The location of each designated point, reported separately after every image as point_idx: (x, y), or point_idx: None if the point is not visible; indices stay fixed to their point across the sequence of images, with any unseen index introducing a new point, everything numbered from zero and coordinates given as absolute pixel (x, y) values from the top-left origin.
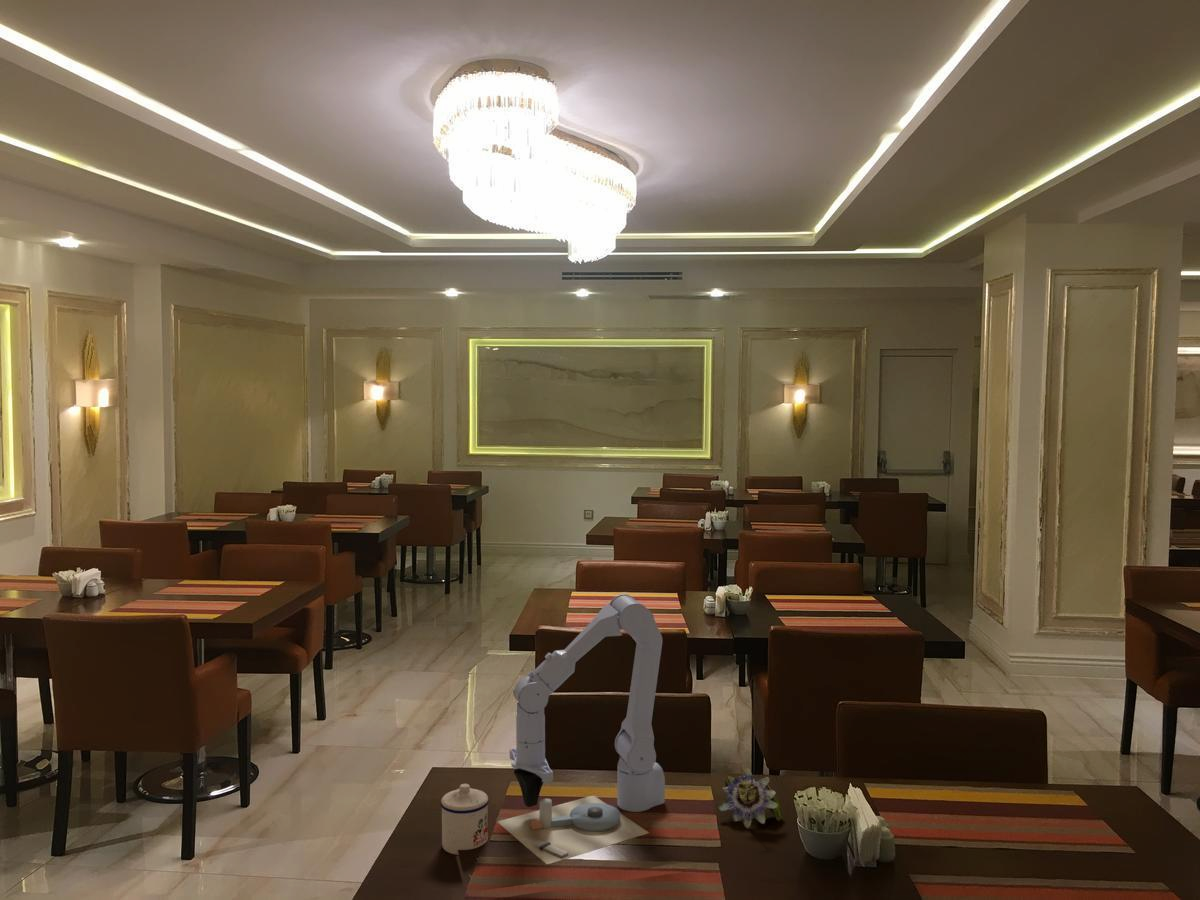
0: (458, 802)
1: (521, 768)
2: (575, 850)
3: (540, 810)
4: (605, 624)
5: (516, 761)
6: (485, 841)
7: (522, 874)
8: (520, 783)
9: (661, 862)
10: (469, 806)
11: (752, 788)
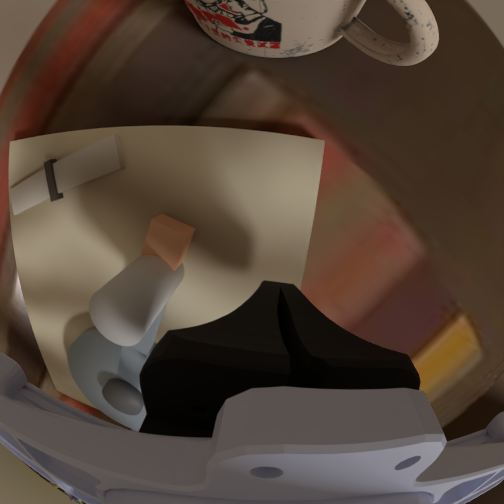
0: None
1: (193, 442)
2: (23, 240)
3: (127, 272)
4: None
5: (396, 490)
6: (197, 21)
7: (40, 81)
8: (319, 330)
9: (4, 332)
10: None
11: (49, 480)
